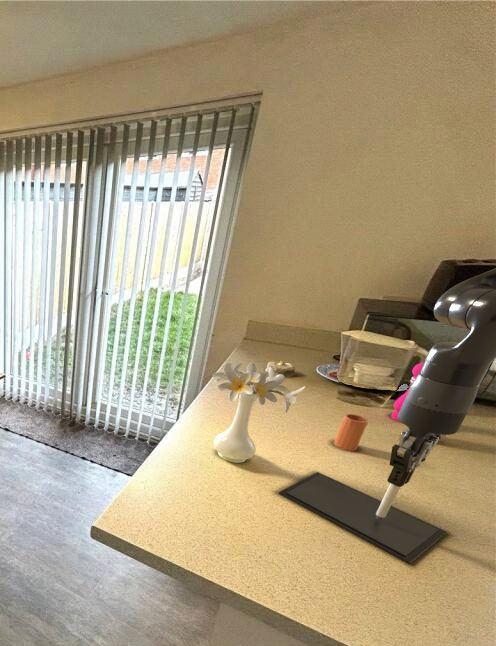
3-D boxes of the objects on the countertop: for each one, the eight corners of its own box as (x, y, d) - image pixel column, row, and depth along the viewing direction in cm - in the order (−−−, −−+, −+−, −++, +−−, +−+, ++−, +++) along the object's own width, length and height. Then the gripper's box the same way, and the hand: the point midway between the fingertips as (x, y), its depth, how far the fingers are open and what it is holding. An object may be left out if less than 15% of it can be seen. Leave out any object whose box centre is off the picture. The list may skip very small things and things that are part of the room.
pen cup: (359, 449, 104) (372, 419, 101) (350, 453, 102) (362, 423, 99) (338, 441, 108) (350, 412, 105) (329, 445, 106) (341, 416, 103)
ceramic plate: (369, 399, 131) (372, 391, 130) (298, 372, 154) (300, 365, 153) (428, 392, 136) (432, 384, 134) (350, 366, 159) (353, 359, 158)
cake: (298, 380, 149) (303, 367, 146) (268, 378, 151) (272, 365, 149) (288, 368, 157) (292, 356, 154) (260, 367, 160) (263, 355, 157)
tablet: (445, 534, 77) (447, 530, 76) (408, 565, 70) (410, 561, 70) (316, 474, 95) (317, 471, 94) (277, 494, 88) (279, 491, 88)
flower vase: (278, 481, 93) (311, 385, 83) (192, 458, 102) (212, 369, 92) (275, 454, 103) (305, 366, 93) (197, 436, 112) (216, 353, 102)
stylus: (385, 519, 79) (414, 461, 73) (381, 521, 78) (410, 463, 73) (376, 515, 80) (404, 457, 74) (372, 517, 79) (400, 459, 74)
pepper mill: (428, 428, 113) (460, 363, 106) (396, 424, 116) (425, 360, 108) (413, 417, 120) (442, 355, 112) (383, 413, 122) (410, 352, 114)
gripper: (451, 420, 63) (407, 505, 70) (483, 402, 68) (439, 482, 75) (390, 402, 69) (355, 482, 76) (424, 386, 74) (388, 462, 81)
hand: (397, 482), depth 75 cm, fingers closed on stylus, 1 cm apart
